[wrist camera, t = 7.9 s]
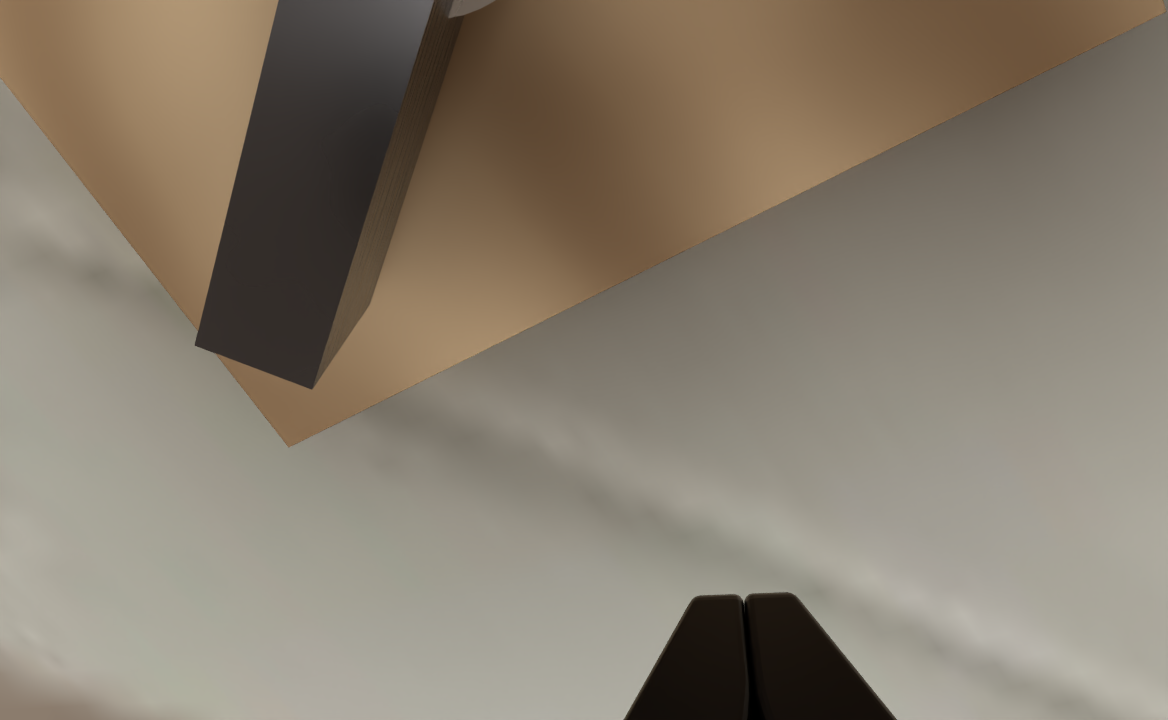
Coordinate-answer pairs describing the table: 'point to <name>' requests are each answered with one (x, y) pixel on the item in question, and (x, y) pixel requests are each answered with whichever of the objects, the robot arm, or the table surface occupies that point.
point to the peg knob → (324, 176)
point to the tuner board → (522, 142)
